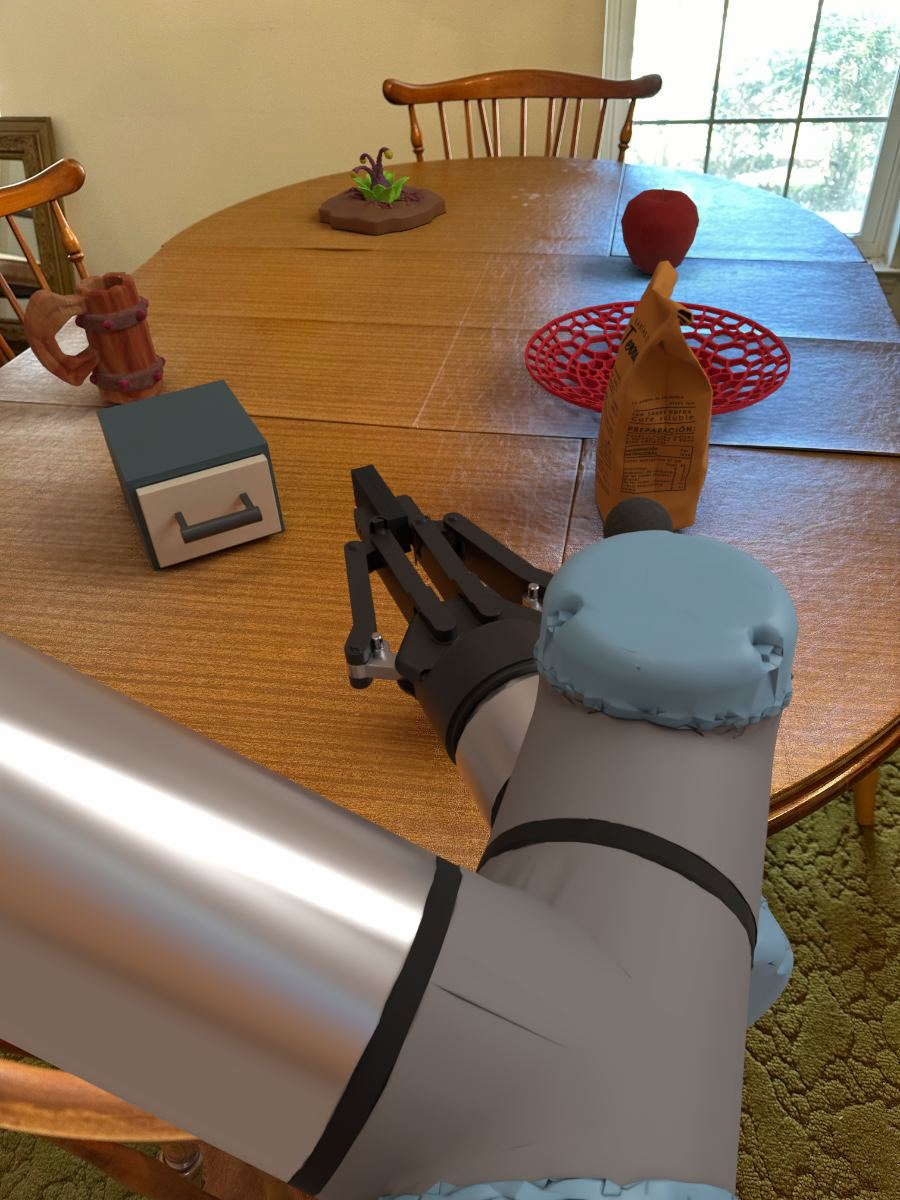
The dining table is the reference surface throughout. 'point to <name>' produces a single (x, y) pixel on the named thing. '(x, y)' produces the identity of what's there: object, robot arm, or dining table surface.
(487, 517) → the dining table surface
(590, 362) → the bowl
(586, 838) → the robot arm
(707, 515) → the dining table surface
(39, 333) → the mug
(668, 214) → the apple
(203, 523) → the drawer
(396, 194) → the plant
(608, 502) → the coffee package
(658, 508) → the light bulb
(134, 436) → the cabinet
